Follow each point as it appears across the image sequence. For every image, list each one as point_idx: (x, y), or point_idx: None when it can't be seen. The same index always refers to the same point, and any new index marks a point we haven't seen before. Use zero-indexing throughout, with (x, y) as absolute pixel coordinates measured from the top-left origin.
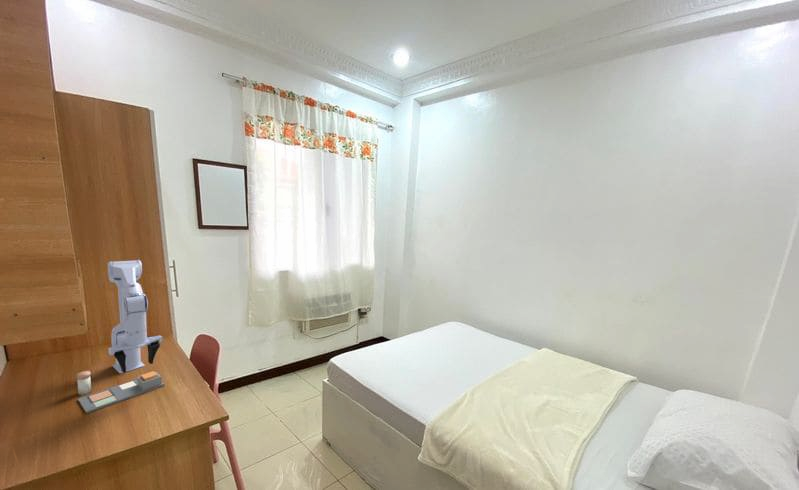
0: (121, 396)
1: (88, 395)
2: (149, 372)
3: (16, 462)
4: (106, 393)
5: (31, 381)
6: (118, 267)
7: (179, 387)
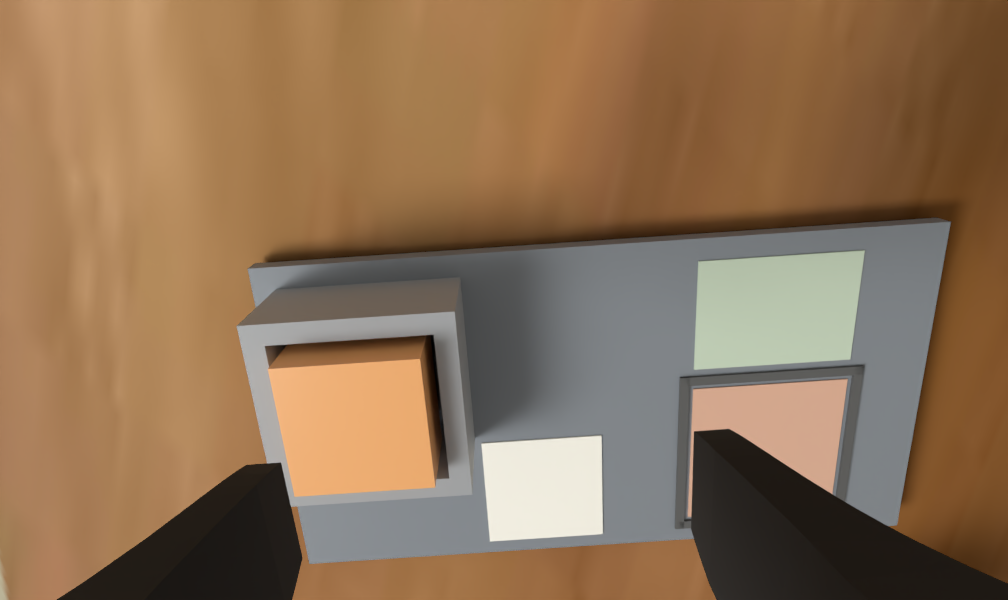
0: (644, 302)
1: None
2: (340, 490)
3: None
4: None
5: None
6: None
7: (119, 97)
